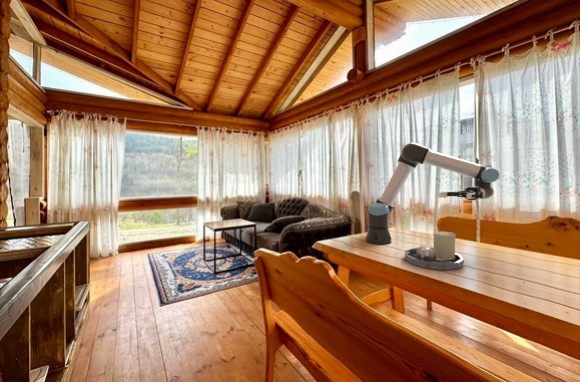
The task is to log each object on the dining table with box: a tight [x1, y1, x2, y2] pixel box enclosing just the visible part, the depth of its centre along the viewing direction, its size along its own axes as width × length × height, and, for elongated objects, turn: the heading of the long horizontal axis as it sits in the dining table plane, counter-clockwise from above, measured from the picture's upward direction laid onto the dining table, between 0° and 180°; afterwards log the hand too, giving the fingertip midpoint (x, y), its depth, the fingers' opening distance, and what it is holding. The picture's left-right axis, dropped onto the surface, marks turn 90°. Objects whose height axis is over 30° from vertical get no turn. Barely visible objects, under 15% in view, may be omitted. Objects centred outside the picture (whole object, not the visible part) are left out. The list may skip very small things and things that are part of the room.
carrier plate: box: [404, 245, 465, 271], centre depth 123 cm, size 24×24×7 cm
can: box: [433, 231, 456, 260], centre depth 124 cm, size 9×9×12 cm
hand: (452, 195), depth 133 cm, fingers open, 13 cm apart
